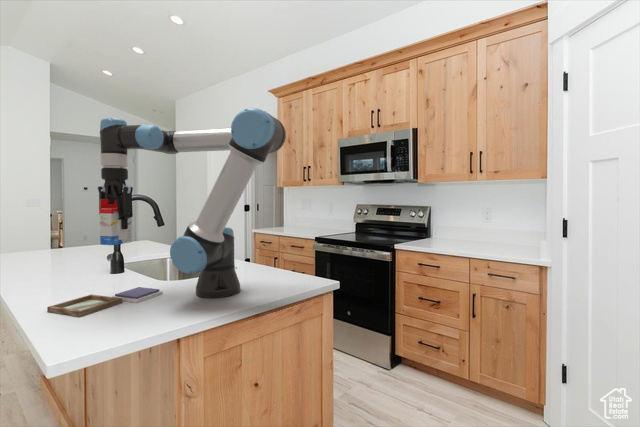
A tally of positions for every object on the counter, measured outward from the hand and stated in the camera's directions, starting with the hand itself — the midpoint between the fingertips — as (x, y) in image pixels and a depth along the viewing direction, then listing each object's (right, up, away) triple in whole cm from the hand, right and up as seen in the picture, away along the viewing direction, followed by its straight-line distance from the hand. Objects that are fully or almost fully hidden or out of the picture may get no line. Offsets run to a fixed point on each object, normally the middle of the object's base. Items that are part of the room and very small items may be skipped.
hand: (116, 238), depth 119 cm
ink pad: (+5, -20, +5) cm, 21 cm away
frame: (-6, -21, -6) cm, 23 cm away
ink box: (0, -2, 0) cm, 2 cm away
